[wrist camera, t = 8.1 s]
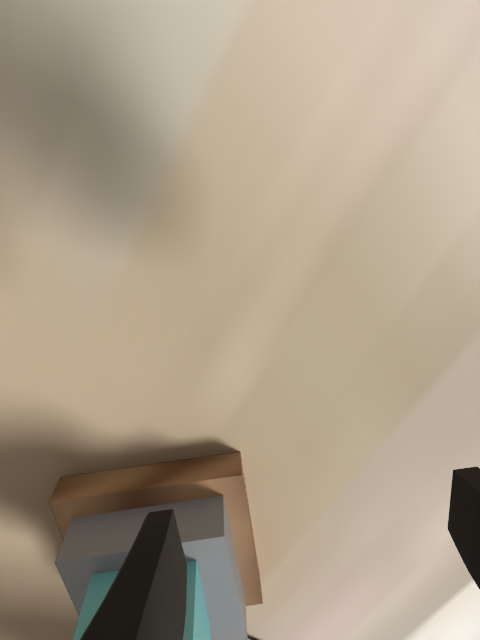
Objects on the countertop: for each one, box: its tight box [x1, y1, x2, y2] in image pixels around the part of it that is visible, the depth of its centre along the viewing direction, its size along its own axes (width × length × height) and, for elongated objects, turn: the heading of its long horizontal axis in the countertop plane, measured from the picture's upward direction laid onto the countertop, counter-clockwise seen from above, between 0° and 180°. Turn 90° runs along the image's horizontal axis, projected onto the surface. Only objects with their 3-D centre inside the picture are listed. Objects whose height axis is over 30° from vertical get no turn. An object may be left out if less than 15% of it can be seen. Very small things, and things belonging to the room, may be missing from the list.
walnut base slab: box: [49, 452, 263, 606], centre depth 24 cm, size 10×10×2 cm
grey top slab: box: [55, 495, 248, 640], centre depth 22 cm, size 8×8×2 cm
